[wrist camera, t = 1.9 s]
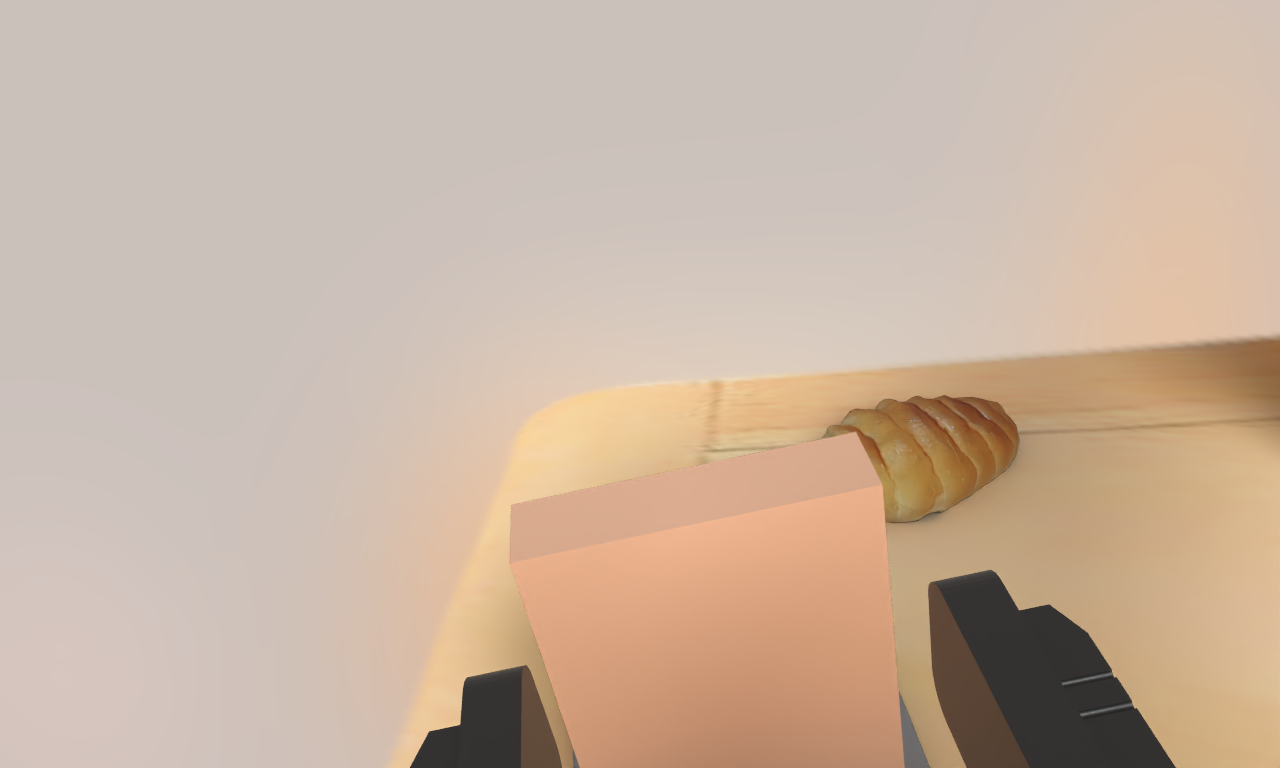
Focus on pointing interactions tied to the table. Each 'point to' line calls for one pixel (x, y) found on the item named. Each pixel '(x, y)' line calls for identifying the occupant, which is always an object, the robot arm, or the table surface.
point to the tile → (719, 613)
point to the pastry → (932, 450)
